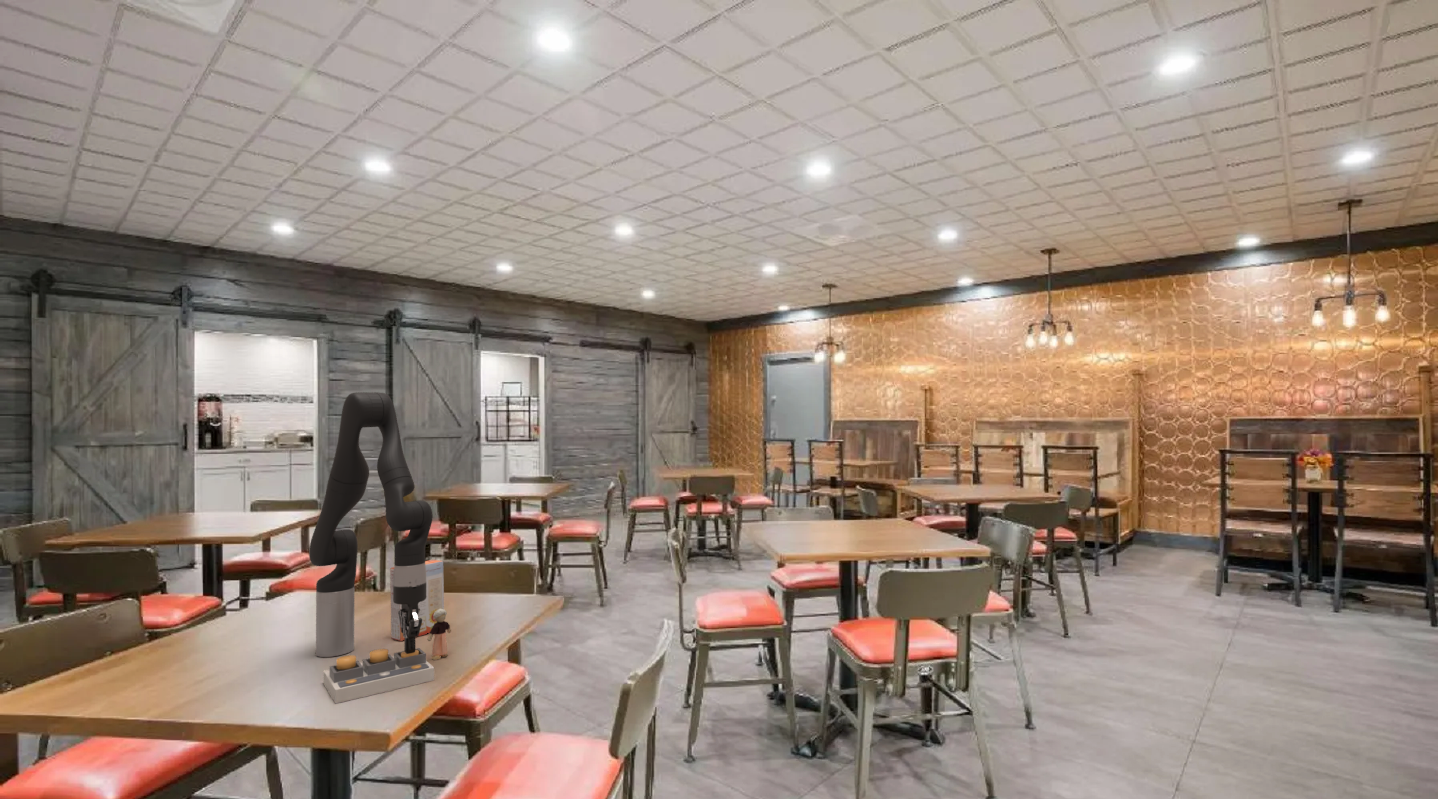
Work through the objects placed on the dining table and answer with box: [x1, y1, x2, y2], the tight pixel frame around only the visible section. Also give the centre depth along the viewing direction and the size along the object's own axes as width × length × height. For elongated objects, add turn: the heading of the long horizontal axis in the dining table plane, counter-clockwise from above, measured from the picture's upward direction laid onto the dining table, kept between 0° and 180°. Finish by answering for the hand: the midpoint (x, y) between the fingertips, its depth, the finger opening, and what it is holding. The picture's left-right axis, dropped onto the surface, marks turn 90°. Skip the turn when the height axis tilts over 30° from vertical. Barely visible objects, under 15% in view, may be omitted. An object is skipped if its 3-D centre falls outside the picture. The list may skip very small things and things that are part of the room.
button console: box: [322, 647, 435, 704], centre depth 162 cm, size 16×21×5 cm
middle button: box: [369, 648, 389, 663], centre depth 162 cm, size 4×4×2 cm
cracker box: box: [389, 559, 445, 642], centre depth 201 cm, size 14×6×21 cm, turn 144°
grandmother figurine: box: [426, 608, 452, 661], centre depth 180 cm, size 8×4×13 cm, turn 168°
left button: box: [336, 654, 357, 670], centre depth 158 cm, size 4×4×2 cm
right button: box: [401, 650, 419, 658], centre depth 167 cm, size 4×4×2 cm
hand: (409, 652), depth 167 cm, fingers closed
